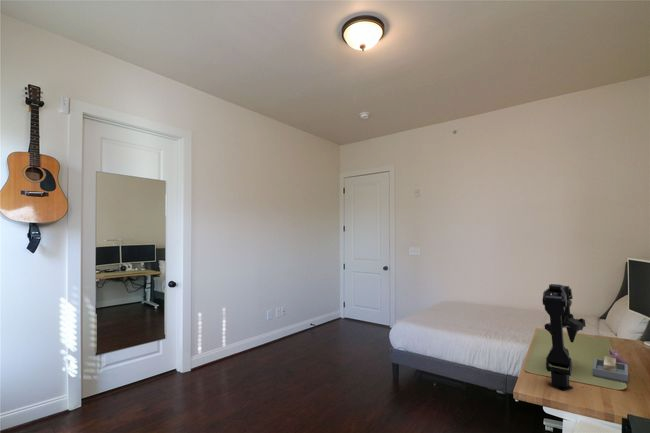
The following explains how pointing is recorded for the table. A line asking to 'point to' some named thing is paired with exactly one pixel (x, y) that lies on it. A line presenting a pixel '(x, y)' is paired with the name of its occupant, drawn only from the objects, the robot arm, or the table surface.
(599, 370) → the bin
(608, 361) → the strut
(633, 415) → the table surface
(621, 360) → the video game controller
